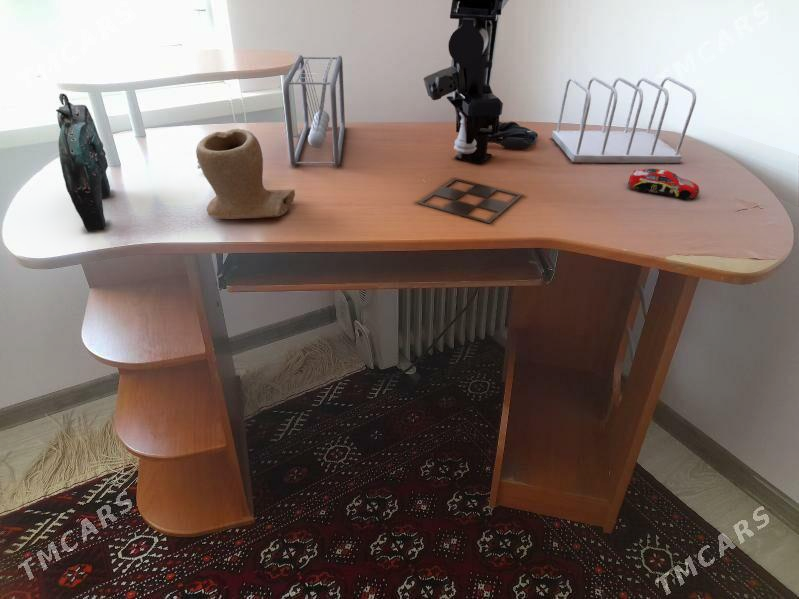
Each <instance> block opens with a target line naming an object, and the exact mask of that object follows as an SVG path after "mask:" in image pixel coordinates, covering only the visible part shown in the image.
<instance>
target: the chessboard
mask: <svg viewBox="0 0 799 599" xmlns="http://www.w3.org/2000/svg"><path fill="white" fill-rule="evenodd" d="M456 181H457V182H461V183H465V184H468V185H472V187H471V188H469V189H468V190H467V191H463V190H460V189H455V188H451V187H449V186H451V185H452V184H453V183H455V182H456ZM496 192H500V193H504V194H509V195H512V196H515V197H514V198H512V200H511V201H510V202H506V201H501V200H498V199H494V198H490V197H491V196H492V195H493V194H495V193H496ZM465 194H468V195H472V196H475V197H479V198H484V199H483V200H482V201H480V202H479V203H478V204H477V205H474V204H470V203H467V202H463V201H460V200H458V199H460V198H461V197H462V196H464V195H465ZM434 196H435V197H439V198H443V199H447V200H450V201H452V202H449V203H448V204H447V205H446V206H445V207H440V206H436V205H433V204H430V203H425V202H426V201H428V200H430V199H431V198H432V197H434ZM522 196H523V194H521V193H516V192H513V191H508V190H505V189H500V188H497V187H493V186H488V185H485V184H480V183H476V182H472V181H468V180H465V179H460V178H456V177H455V178H453V179H452V180H450V181H449V182H447V183H445V184H444V185H442V186H441V187H439V188H437V189H436V190H435V191H433V192H432V193H431V194H429V195H427V196H426V197H425V198H423V199H422V200H420V201H418V202H417V205H421V206H425V207H428V208H432V209H435V210H439V211H442V212H446V213H448V214H453V215H457V216H460V217H463V218H467V219H470V220H473V221H478V222H481V223H485V224H488V225H490V224H491V223H492V222H494V221H495V220H496V219H497V218H498V217H499V216H500V215H502V214H503V213H504V212H506V210H508V209H509V208H510V207H511V206H512V205H513V204H514V203H515V202H517V201H518V200H519V199H520V198H522ZM475 208H478V209H479V208H480V209H483V210H487V211H491V212H494V213H496V214H494V215H493V216H491V217H490V219H488V220H486V219H482V218H478V217H475V216H471V215H468V214H469V213H470V212H472V211H473V210H474V209H475Z"/></svg>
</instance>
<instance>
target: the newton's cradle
mask: <svg viewBox="0 0 799 599" xmlns="http://www.w3.org/2000/svg"><path fill="white" fill-rule="evenodd" d="M309 60H329V62H326V61H325V62H324V61H323V62H322V61H321V62H320V61H319V62H317V61H315V62H314V61H309ZM333 60H336V61H335V63H334V68H333V71H332V75H331V78H330V82H328V75H329V73H330V68H331V65H332V62H333ZM300 63H301V66H300ZM309 64H327V65H326V69H325V73H324V77H323V78H322V81H320V82H319V81H318V82H316V81H315V82H314V80H313V76H312V75H316V73H313V72H312V73H311V69H310V68H311V67H310V65H309ZM343 67H344V65H343V57H342V56H341V55H338V56H337V57H335V56H303V55H301V54H300V55H298V56H297V57H296V60H295V62H294V63H293V65H292V66H291V68H290V70H289V72H288V74H287V75H286V77H285V78H284V81H283V84H282V94H283V104H284V113H285V114H284V115H285V116H284V117H285V125H286V134H287V143H288V154H289V162H290V165H291V166H292V167H296V166H297V165H334V166H335V167H339V166H340V164H341V157H342V150H343V142H344V136H345V128H346V119H345V116H346V115H345V95H344V94H345V90H344V71H343V70H344V68H343ZM298 68H299V74H298V76H297V78H296V80H295V81H293V78H294V76H295V74H296V73H297V70H298ZM308 71H309V72H308ZM299 80H300V81H299ZM337 81H338V94H339V95H338V97H339V98H338V99H339V100H338V101H339V117H340V118H339V120H340V124H339V125H340V126H338V112H337V110H338V109H337V89H336V88H337ZM290 85H300V87H301V88H300V89H301V100H302V109H303V111H302V112H303V127H302V131H301V134H300V137H299V140H298V142H297V146H296V148H295V143H294V141H295V140H294V132H293V122H292V120H293V119H292V111H291V101H290ZM309 85H310V86H309ZM315 85H321V86H322V87H321V96H320V102H319V99H318V97H317V93H316V88H315ZM328 85H329V99H330V114H329V113H328V112H327V111H326V110H324V108H325V101H326V91H327V86H328ZM312 86H313V87H312ZM307 88H308V89H307ZM308 92H309V93H308ZM311 93H312V94H311ZM309 95H310V96H309ZM315 98H316V99H315ZM310 99H311V100H310ZM313 100H314V101H313ZM308 102H309V104H308ZM316 102H317V103H316ZM311 103H312V105H311ZM317 105H318V106H317ZM309 106H310V108H309ZM312 107H313V108H312ZM310 110H311V111H310ZM313 110H314V112H313ZM330 115H331V116H330ZM309 117H310V121H311V126H310V125H309ZM330 117H331V119H330ZM312 118H313V119H312ZM330 120H331V126H329V123H330ZM328 129H331V136H332V152H333V154H332V155H333V161H299V159H300V155H301V152H302V149H303V146H304V143H305V139H306V136H307V133H308V131H309V133H308V136H307V141H308V143H309V145H310V146H311V147H313V148H315V149H319V148H321V147H323V146H324V144H325V142H326V137H327V133H328ZM338 129H339V131H338ZM338 132H339V134H338Z"/></svg>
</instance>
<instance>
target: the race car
mask: <svg viewBox="0 0 799 599" xmlns="http://www.w3.org/2000/svg"><path fill="white" fill-rule="evenodd" d="M627 182H628V183H627V185H628V186H629V187H631V188H633V189H635V190H638V191H639V192H640V193H645V192H649V193H655V194H661V195H666V196H672V197H677V198H678V197H679V198H680V199H681V200H685V201H686V200H688V199H689V198H690V199H693V198H696V197H697V196H698V195H699V193H700V186H699V185H698V184H697V183H696V182H694V181H692V180H689V179H686V178H683V177H680V176H678V175H677V174H676V173H674V172H673V171H670V170H667V169H661V168H644V169H635V170H633V172H632V174H631V175H629V178H628V181H627Z"/></svg>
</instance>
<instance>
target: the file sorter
mask: <svg viewBox="0 0 799 599" xmlns="http://www.w3.org/2000/svg"><path fill="white" fill-rule="evenodd" d="M571 81H572V82H573V83H574V84H575V85H576V86H577V87H579V88H580V89H582V90H583V91H584V92H585V96H584V97H585V98H584V102H583V108H582V114H581V119H580V125H579V130H560V128H561V124H562V119H563V115H564V110H565V106H566V100H567V96H568V91H569V86H570V83H571ZM593 81H595V82H596V83H598V84H600V85H602V86H604V87H605V88H607V89H609V91H610V95H609V99H608V102H607V107H606V111H605V116H604V120H603V124H602V129H601V130H585V129H586V126H587V125H586V124H587V121H588V117H589V116H588V115H589V112H590V106H591V100H592V95H591V91H590V90H591V85H592V83H593ZM619 81H620V82H622V83H623V84H625V85H627V86H629V87H631V88H632V89H634V92H633V96H632V98H631V99H632V100H631V103H630V108H629V111H628V115H627V119H626V123H625V127H624V130H611V128H612V123H613V120H614V116H615V111H616V108H617V103H618V92H617V89H616V86H617V83H618V82H619ZM667 81H669V82H672V83H673V84H675V85H677V86H679V87H681V88H683V89H684V90H687V91H689V92H690V93H691V95H692V101H691V105H690V108H689V111H688V114H687V117H686V119H685V123H684V126H683V129H682V132H681V135H680V137H679V140H678V144H677V146H676V150H675V149H673V148H672V147H671V146H670V145H668V144H667V143H666V142H665V141H663V140H662V139H660V138H659V137H660V132H661V129H662V126H663V122H664V119H665V115H666V112H667V108H668V105H669V99H670V96H669V91H668V90H667V89H666V88H665V87H664V85H665V83H666V82H667ZM642 82H645V83H646V84H648V85H650V86H652V87H654V88H656V89H658V92H657V95H656V99H655V102H654V104H653V109H652V112H651V115H650V119H649V122H648V125H647V129H646V131H641V130H639V131H637V130H636V128H637V125H638V120H639V117H640V114H641V110H642V106H643V102H644V92H643V89H642V88H641V87H640V84H642ZM662 92H663V93H664V105H663V108H662V111H661V115H660V119H659V122H658V126H657V130H656V133H655V134H654V133H653V132H652V131H651V127H652V124H653V121H654V118H655V114H656V111H657V107H658V104H659V101H660V97H661V94H662ZM637 93H638V94H639V102H638V106H637V108H636V109H637V110H636V113H635V117H634V120H633V125H632V127H631V128H632V129H631V130H629V131H628V129H629V125H630V121H631V117H632V114H633V110H634V106H635V102H636V98H637V95H638V94H637ZM612 102H613V105H612ZM696 102H697V92H696V91H695V89H694V88H692V87H690V86H689V85H687V84H684V83H682V82H680V81H679V80H676V79H675V78H673V77H670V76H667V77H665V78H663V79H662V81H661V83H660V84H658V83H655V82H653V81H652V80H650V79H648V78H646V77H642V78H639V79H638V81H637V83H636V84H634V83H632V82H631V81H629V80H627V79H625V78H623V77H621V76H619V77H617V78H615V79H614V81H613V83H612V85H610V84H609V83H607V82H605V81H604V80H602V79H600V78H598V77H596V76H592V77H591V78H590V79H589V81H588V83H587V86H585V85H584V84H582V83H581V82H580V81H579V80H577V79H576V78H575V77H571V76H570V77H569V78H567V80H566V84H565V87H564V93H563V98H562V101H561V106H560V112H559V117H558V122H557V126H556V130H552V134H551V138H552V139H553V140H554V141H555V143H556V144H557V145H558V146H559V148H561V150H562V151H563V152H564V154H565V155H566V156H567V157H568V158H569V160H570V161H571V162H572V163H606V164H607V163H608V164H609V163H613V164H614V163H618V164H619V163H621V164H624V163H626V164H627V163H628V164H630V163H631V164H635V163H636V164H679V163H681V160H682V157H683V155H682V154H680V150H681V147H682V144H683V142H684V139H685V136H686V132H687V130H688V127H689V125H690V124H689V123H690V121H691V118H692V115H693V112H694V110H695V105H696V104H697V103H696ZM611 106H612V107H611ZM610 111H611V112H610ZM609 113H610V115H609ZM608 118H609V121H608ZM607 121H608V123H607Z"/></svg>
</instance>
